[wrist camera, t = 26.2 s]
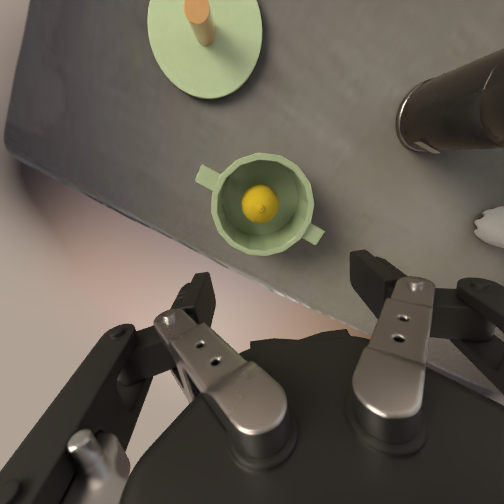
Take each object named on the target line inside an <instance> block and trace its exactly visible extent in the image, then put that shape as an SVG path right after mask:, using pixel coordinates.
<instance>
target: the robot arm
mask: <svg viewBox="0 0 504 504" xmlns="http://www.w3.org/2000/svg"><path fill="white" fill-rule="evenodd" d="M396 132H397V135H398V138H399V140H400V141H401V143H402V144H403V145H404V146H405V147H407V148H408V149H410V150H413V151H417V152H426V151H430V152H432V153H440V152H438V151H437V150H462V149H486V148H504V48H503V49H501V50H499V51H496V52H494V53H492V54H490V55H487V56H485V57H483V58H480V59H478V60H476V61H473V62H471V63H469V64H466V65H464V66H462V67H459V68H457V69H455V70H452V71H450V72H448V73H445V74H443V75H441V76H438V77H436V78H432V79H429V80H427V81H425V82H422V83H421V84H419V85H417V86H416V87H415V88H413V89H412V90H411V91H410V92H409V93H408V94H407V95H406V97H405V98H404V100H403V101H402V103H401V105H400V107H399V110H398V113H397V117H396ZM350 281H351V285H352V287H353V289H354V290H355V291H356V292H357V294H358V295H359V296H360V297H361V299H362V300H363V301H364V302H365V304H366V305H367V306H368V307H369V309H370V310H371V311H372V313H373V314H374V315H375V316H376V318H377V319H378V321H377V324H376V326H375V329H374V331H373V334H372V337H371V339H370V340H369V339H366V338H361V337H355V336H350V334H349V333H348V331H347V329H343V330H335V331H328V332H321V333H318V334H316V335H313V336H309V337H306V338H304V339H300V340H292V339H275V338H273V339H265V340H258V341H251V342H250V349H248V350H246V351H243V352H241V353H239V354H238V353H237V352H236V351H235V350H234V349H233V348H232V347H231V346H230V345H229V344H228V343H226V342H225V341H224V340H223V339H222V338H221V337H220V336H219V335H218V334H216V332H215V331H213V330H212V329H211V323H212V319H213V315H214V311H215V306H216V300H215V294H214V290H213V286H212V282H211V277H210V274H209V273H208V272H204V273H197V274H195V275H194V277H193V279H192V281H191V283H187V284H186V285H184V286H183V287H182V288H181V290H180V291H179V294H178V295H177V297H176V299H175V301H174V303H173V305H172V307H171V309H170V310H167V311H165V312H163V313H161V314H160V315H158V316H157V317H156V318H155V320H154V325H153V326H151V327H148V328H145V329H142V330H139V331H136V330H135V327H134V325H132V324H122V325H119V326H116V327H114V328H112V329H110V330H109V331H107V332H106V333H105V334H104V335H103V336H102V337H101V338H100V339H99V341H98V342H97V344H96V345H95V346H94V347H93V349H92V350H91V352H90V353H89V354H88V355H87V357H86V358H85V360H84V361H83V362H82V363H81V365H80V366H79V367H78V369H77V370H76V371H75V373H74V374H73V375H72V377H71V378H70V380H69V381H68V382H67V383H66V385H65V386H64V387H63V389H62V390H61V391H60V393H59V394H58V396H57V397H56V398H55V399H54V401H53V402H52V403H51V405H50V406H49V407H48V409H47V410H46V411H45V413H44V414H43V415H42V417H41V418H40V419H39V421H38V422H37V423H36V425H35V426H34V427H33V429H32V430H31V431H30V433H29V434H28V435H27V437H26V438H25V439H24V441H23V442H22V443H21V445H20V446H19V448H18V449H17V450H16V451H15V453H14V454H13V456H12V457H11V458H10V460H9V461H8V462H7V463H6V465H5V466H4V467H3V469H2V470H1V471H0V504H504V406H503V405H501V404H499V403H497V402H495V401H493V400H491V399H489V398H487V397H485V396H483V395H481V394H479V393H477V392H475V391H473V390H471V389H469V388H467V387H465V386H464V385H461V384H459V383H458V382H456V381H454V380H451V379H449V378H447V377H445V376H443V375H441V374H440V373H437V372H436V371H434V370H432V369H430V368H428V367H426V362H427V354H428V345H429V337H435V338H445V339H450V341H451V342H452V343H453V344H454V345H455V346H456V347H457V348H458V349H459V350H460V351H461V352H462V353H463V354H464V355H465V356H466V357H467V358H468V359H469V360H470V361H471V362H472V363H473V364H474V365H475V366H476V367H477V368H478V369H479V370H480V371H481V372H482V373H483V374H484V375H485V376H486V377H487V378H488V379H489V380H490V381H491V382H492V383H493V384H494V385H495V386H496V387H497V388H498V389H499V390H500V391H501V392H502V393H503V394H504V342H503V341H501V340H500V339H499V338H498V337H496V336H495V335H494V331H495V327H496V326H497V327H498V328H499V329H500V330H501V331H502V332H503V333H504V287H503V286H502V285H500V284H498V283H496V282H493V281H490V280H486V279H481V278H463V279H460V280H459V281H458V282H457V288H456V289H441V288H435V285H434V283H433V282H431V281H429V280H427V279H424V278H420V277H412V276H409V277H408V276H406V275H405V274H404V273H402V272H401V271H400V270H399V269H397V268H396V267H395V266H393V265H391V263H389V262H388V261H387V260H385V259H382V258H379V257H377V256H376V257H374V256H373V255H372V254H370V253H369V252H368V251H367V250H358V251H351V252H350ZM168 370H171V373H172V374H173V376H174V377H175V379H176V381H177V383H178V384H179V386H180V388H181V389H182V391H183V392H184V394H185V396H186V397H187V399H188V401H189V405H188V406H187V407H186V408H185V409H184V410H183V411H182V413H181V414H180V415H179V416H178V417H177V418H176V419H175V420H174V421H173V422H172V423H171V425H170V426H169V427H168V428H167V429H166V430H165V431H164V432H163V433H162V434H161V435H160V437H159V438H158V439H157V440H156V441H155V442H154V443H153V444H152V445H151V446H150V447H149V449H148V450H147V451H146V452H145V453H144V454H143V456H142V457H141V458H140V459H139V461H138V462H137V464H136V465H135V467H134V468H133V470H132V472H131V474H130V475H129V473H130V462H129V459H128V457H127V455H126V453H125V451H126V449H127V446H128V443H129V441H130V438H131V435H132V433H133V430H134V427H135V425H136V422H137V419H138V417H139V414H140V411H141V409H142V406H143V403H144V401H145V398H146V395H147V393H148V390H149V387H150V384H151V381H152V379H153V376H155V375H157V374H160V373H163V372H165V371H168ZM117 379H118V380H117Z"/></svg>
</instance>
